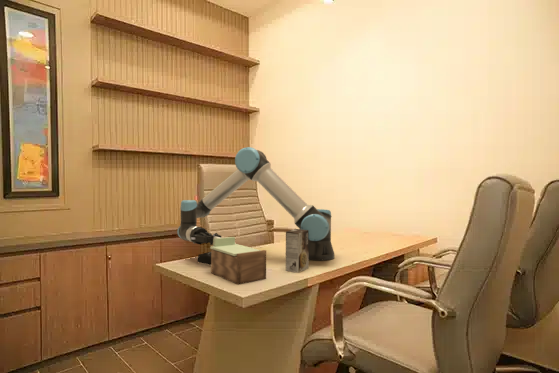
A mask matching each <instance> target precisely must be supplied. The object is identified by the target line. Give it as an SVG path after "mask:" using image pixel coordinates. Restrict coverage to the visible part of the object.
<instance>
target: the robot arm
mask: <svg viewBox="0 0 559 373" xmlns="http://www.w3.org/2000/svg"><path fill="white" fill-rule="evenodd" d="M267 159H268V158H267V156H266V154H264V152H263V151H261V150H258V149H256V148H254V147H253V146H252V147H251V146H247V147H243V148H241V149H239V150H238V152H236V154H235V157H234V165H235V167H236V168H237V169H236V170H235V171H234V172H232V173H231V174H230V175H229V176H228V177H227V178H226V179H224V180H223V181H222V182H221V183H220V184H218V185H217V186H216V187H215V188H213V189H212V190H211V191H210V192H208V193H207V194H206V195H205V196H204V197H203V198H202V199H200V200H199V201H198V202H197V201H196V200H195V199H183V200H181V202H180V209H179V210H180V225H179V226H178V227H177V236H178V237H179V238H180V239H181V240H183V241H187V242H191V243H193V245H195V244H197V245H204V244H209V245H210V246H212V245H213V239H215V238H222V235H220V234H219V233H217V232H215V233H213V234H212V233H210V232H208V230H207V229H206V228H205V227H201V226H197V219H200V218H201V219H202V218H206V217H207V216H209V215H210V213H211V211H212V210H214V209H215V208H216V207H217V206H218V205H220V204H221V203H222V202H223V201H224V200H226V199H227V198H228V197H230V196H231V195H232V194H233V193H234V192H236V191H237V190H238V189H240V187H242V186H244V184H245V183H247V182H248V181H252V182H257V183H258V184H259V185H260V186H262V188H263V189H264V190H265V191H266V192H267V193H268V194H269V195H270V196H271V197H272V198H273V199H274V200H275V201H277V203H278V204H279V205H280V206H281V207H282V208H283V210H285V211H286V212H287V213H288V214H289V215H290V216H291V217H292V218H293V222H294V225H296V227H297V229H303V230H309V231H308V234H309V235H308V236H309V240H308V241H309V242H308V243H309V244H308V245H309V251H308V260H310V261H330V260H334V259H335V251H334V247H333V245H332V240H331V239H332V212H331V211H332V210H330V209H323V208H321V209H320V208H319V209H318V208H316V206H315V205H311V204H307V203H306V202H305V200H303V199H302V197H300V196H299V195H298V194H297V193H296V191H294V190H293V188H291V187H290V186H289V185H288V183H287V182H285V181H284V179H282V178H281V177H280V176H279V174H277V173H276V172H275V171H274V170H273V169H272V168H271V162H270V161H269V160H267Z"/></svg>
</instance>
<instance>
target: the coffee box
mask: <svg viewBox="0 0 559 373" xmlns="http://www.w3.org/2000/svg"><path fill="white" fill-rule="evenodd" d="M308 231H309V230H303V229H299V228H294V229H289V230H287V231H285V271H286V272H293V273H301V272H303V271H305V270H307V269H309V259H308V251H309V245H308V244H309V243H308V242H309V241H308V240H309V236H308V235H309V234H308Z"/></svg>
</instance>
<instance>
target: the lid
mask: <svg viewBox="0 0 559 373" xmlns="http://www.w3.org/2000/svg"><path fill="white" fill-rule="evenodd" d="M209 249H210V250H216V251H220V252H223V253H226V254H229V255H232V256H237V254H238V253H245V252H253V251H260V250H261V249H257V248H253V247H250V246H247V245H242V244H238V243H236V237H235V236H227V237H221V238H215V239H213V246H212V245H210V248H209Z"/></svg>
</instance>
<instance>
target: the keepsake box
mask: <svg viewBox="0 0 559 373" xmlns="http://www.w3.org/2000/svg"><path fill="white" fill-rule="evenodd" d="M210 250H211V251H210V252H211V265H210V267H211V268H210V272H211V274H213V275H216V276H218V277H220V278H223V279H225V280H226V281H227V280H228V281H230V282H232V283H234V284H236V285H242V284H247V283H251V282H257V281H262V280H263V281H264V280H266V279H267V250H266V249H262V250H261V249H259V250H260V251H253V252H245V253H238V254H237V256H232V255H229V254H226V253H223V252H220V251H216V250H213V249H210Z"/></svg>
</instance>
